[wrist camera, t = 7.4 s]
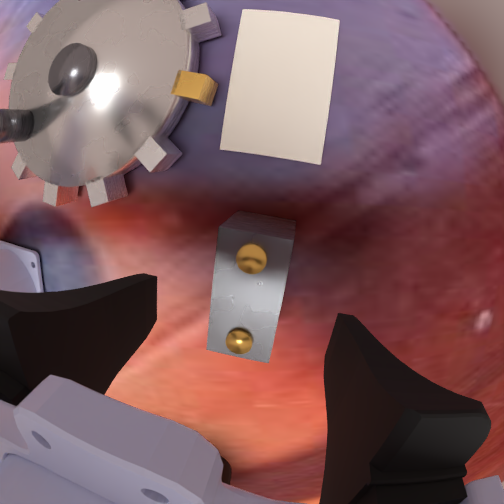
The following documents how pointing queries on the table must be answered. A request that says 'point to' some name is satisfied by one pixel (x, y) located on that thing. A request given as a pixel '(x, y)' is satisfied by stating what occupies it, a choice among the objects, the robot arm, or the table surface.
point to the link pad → (281, 85)
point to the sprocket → (104, 92)
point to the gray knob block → (249, 284)
